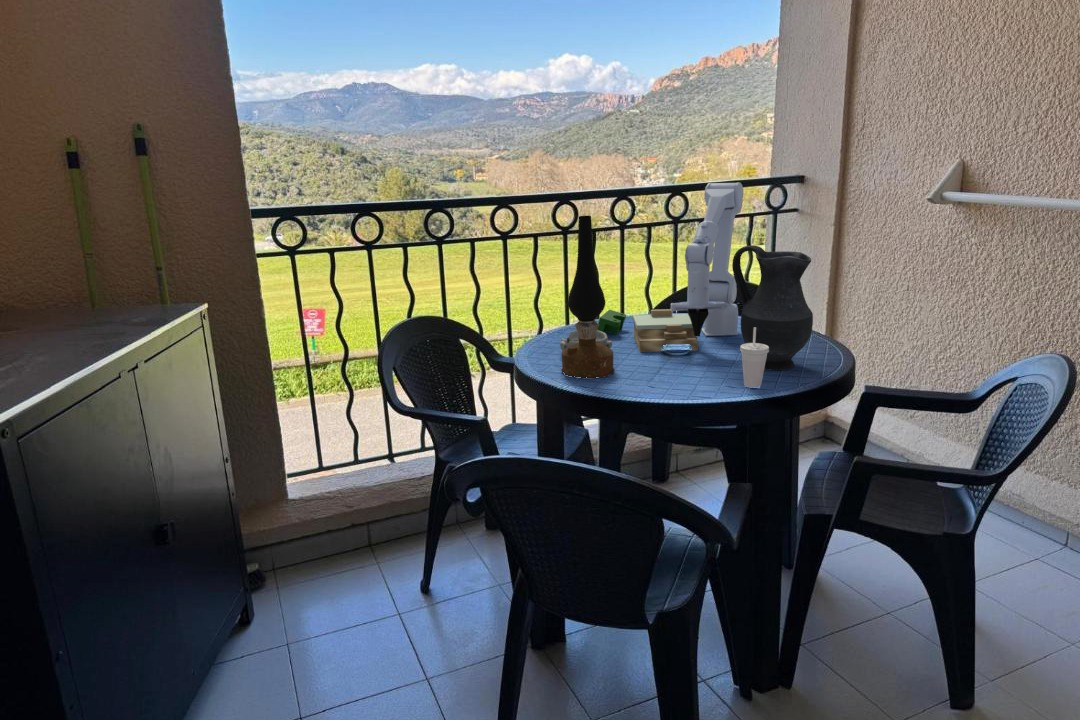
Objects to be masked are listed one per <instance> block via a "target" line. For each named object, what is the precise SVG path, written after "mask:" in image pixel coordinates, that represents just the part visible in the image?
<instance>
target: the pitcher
mask: <svg viewBox="0 0 1080 720" xmlns="http://www.w3.org/2000/svg"><path fill="white" fill-rule="evenodd" d="M749 251H750V252H753V253H755V258H756V261H757V262H758V265H759V270H760V280H759V281H760V282H759V284H758V287H757V289H756V291H755V294H754V295H753V297H752V296H751V293H750V291H749V287H748V285H747V283H746V279H745V277H744V275H743V270H742V267H741V259H742V255H743V254H744V253H747V252H749ZM811 262H812V258H811V257H810V256H809V255H807V254H805V253H803V252H801V251H789V250H788V251H766V250H764V248H762V247H761V246H759V245H755V244H753V245H744V246H742V247H740V248H739V249H738V250H736V252H735V253H734V255H733V258H732V265H731V267H732V273H733V274H732V275H733V276H734V278H735V281H736V287H737V290H738V294H739V296H740V299H741V302H742V311H741V313H740V314H741V315H740V333H741V337H742V339H743V342H744V344H746V343H753V330H754V327H756V340H755V343H760V344H765V345H767V346H769V352H768V353H767V358H766V362H765V368H764V370H766V369H771V370H770V371H786V370H785V369H787V370H790V369H792V368H794V366H795V363H794V361H793V357H795V355H796V354H797V353H798V352H800V351H801V350H802V349H803V348H804V347H805V346H806V345H807V344H808V342H809V340H810V338H811V335H812V332H813V325H814V315H813V314H814V313H813V311H812V310H811V308H810V307H809V305H808V303H807V302H806V298H805V295H804V291H803V287H802V283H801V278H802V276H803V275H804V273H805V271H806V270H807V269H808V267H809V266H810V263H811Z"/></svg>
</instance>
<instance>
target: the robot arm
mask: <svg viewBox="0 0 1080 720" xmlns="http://www.w3.org/2000/svg"><path fill="white" fill-rule="evenodd" d="M743 200H744V187H743V184H742V182H718V183H717V182H709V183H707V185H706V186H705V189H704V201H705V205H706V207H707V208H706V210H705V215H704V219H703V221H702V222H700V223H699V224H698V225H697V228H696V230H695V233H694V236H693V239H692V241H691V242H690V244H687V245H686V248H685V251H684V252H685V253H684V261H685V264H686V267H685V269H686V271H687V293H686V294H687V295H686V296H687V298H686V300H687V301H681V302H675V303H674V302H671V303H670V309H671V311H672V312H676V311H677V312H679V311H686V314H688V315H689V317H690V320H691V323H692V326H693V332H694V336H696V337H701V332H702V333H703V334H704V336H705V337H717V336H718V337H721V336H723V337H724V336H738V335H739V334H738V327H739V326H738V325H739V321H738V320H739V308H738V307H739V306H738V304H737V303H734V302H735V301H736V298H737V293H738V291H737V290H738V287H737V284H736V281H735V278H734V274H732V273H731V272H729V265H730V256H731V248H732V239H733V232H734V231H733V230H734V222H735V217H736V215H738V214H740V213H741V212H742V209H743ZM711 264H712V265H711ZM710 266H711V268H710ZM710 269H711V270H710ZM703 326H704V327H703Z"/></svg>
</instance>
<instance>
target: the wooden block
mask: <svg viewBox="0 0 1080 720" xmlns="http://www.w3.org/2000/svg"><path fill="white" fill-rule="evenodd" d="M664 338H665V339H679V338H687V333H686V331H677V332H664Z"/></svg>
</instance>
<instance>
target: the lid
mask: <svg viewBox="0 0 1080 720" xmlns="http://www.w3.org/2000/svg"><path fill="white" fill-rule="evenodd" d="M632 320H633V324H634V323H635V326H636V328H637V330H642V329H666V332H677V331H682V328H693V326H692V323H691V320H690V317H689V315H688V313H673V311H671V308H669V309H668V308H666V309H664V308H663V309H660V308H659V309H650V314H638V315H635V314H633V315H632Z"/></svg>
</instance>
